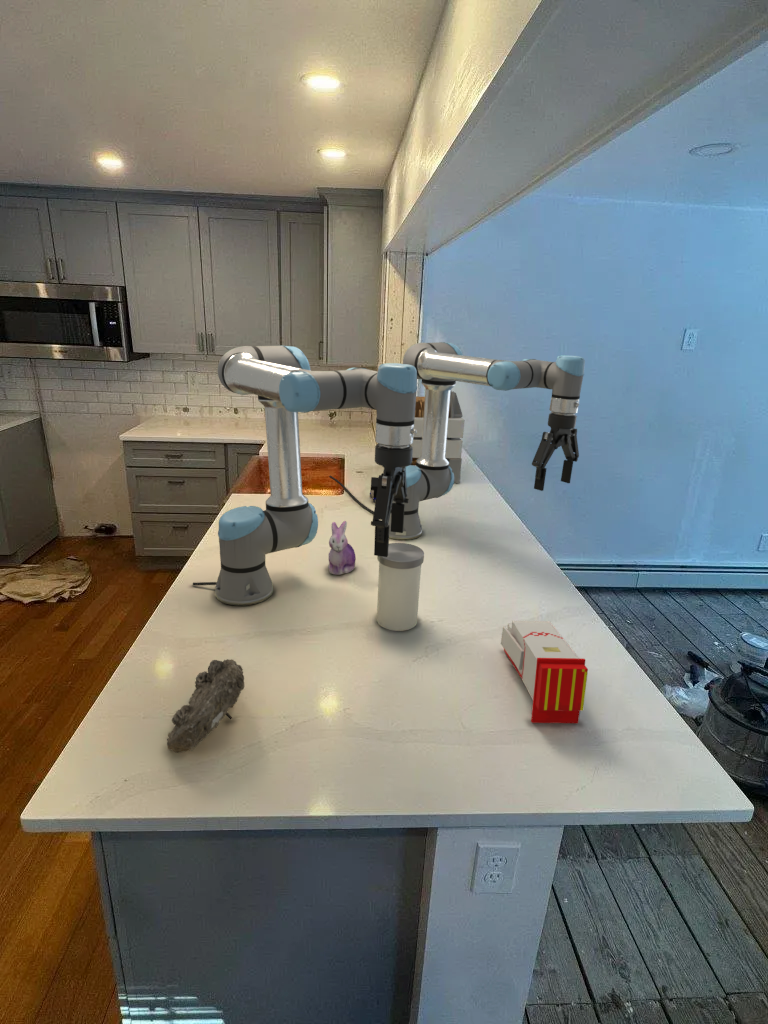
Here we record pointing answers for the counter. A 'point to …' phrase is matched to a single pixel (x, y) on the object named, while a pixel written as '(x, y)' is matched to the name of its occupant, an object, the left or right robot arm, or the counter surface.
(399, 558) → the lid
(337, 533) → the figurine
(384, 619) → the jar
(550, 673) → the toy
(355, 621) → the counter surface
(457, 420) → the white slatted crate
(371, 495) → the figurine character
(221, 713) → the fossil
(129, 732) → the counter surface
